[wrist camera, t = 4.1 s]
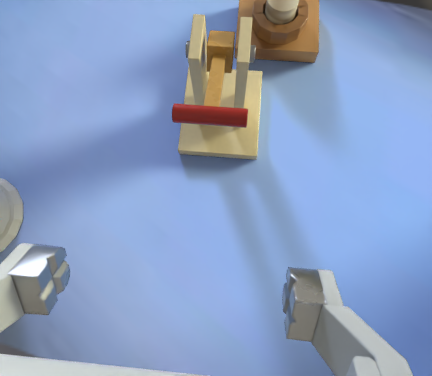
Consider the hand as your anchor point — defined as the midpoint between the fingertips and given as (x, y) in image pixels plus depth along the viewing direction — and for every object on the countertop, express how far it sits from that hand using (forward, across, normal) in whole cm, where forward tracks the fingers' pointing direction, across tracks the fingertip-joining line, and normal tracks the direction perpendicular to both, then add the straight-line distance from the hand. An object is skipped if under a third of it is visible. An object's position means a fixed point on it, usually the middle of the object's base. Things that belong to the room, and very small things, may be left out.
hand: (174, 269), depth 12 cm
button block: (+39, -6, -5) cm, 40 cm away
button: (+36, -6, -7) cm, 38 cm away
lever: (+19, 0, -2) cm, 19 cm away
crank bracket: (+30, 0, +4) cm, 31 cm away
